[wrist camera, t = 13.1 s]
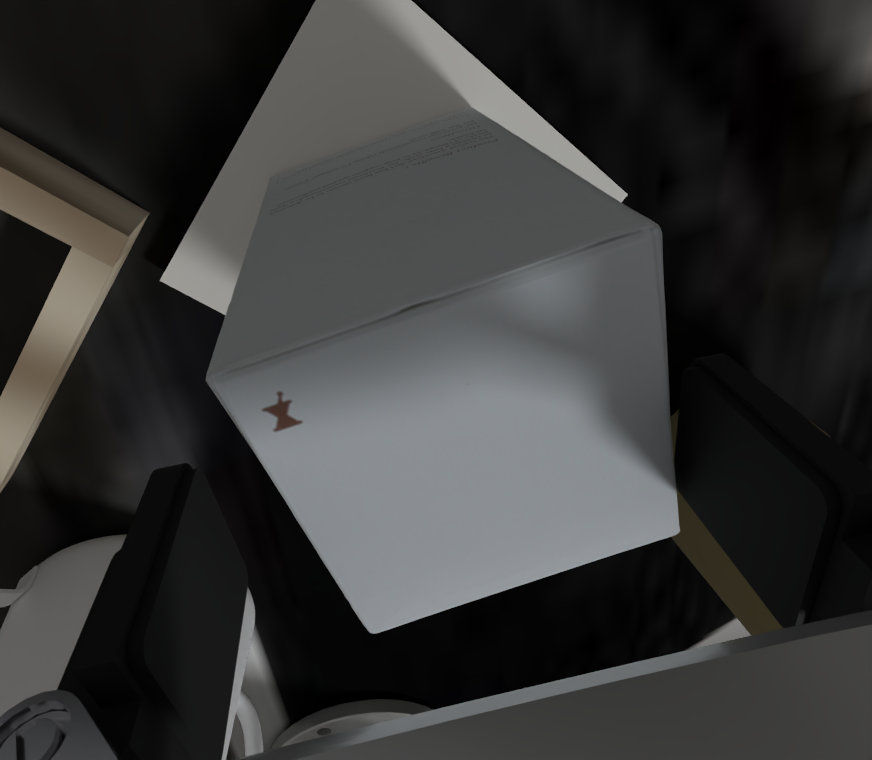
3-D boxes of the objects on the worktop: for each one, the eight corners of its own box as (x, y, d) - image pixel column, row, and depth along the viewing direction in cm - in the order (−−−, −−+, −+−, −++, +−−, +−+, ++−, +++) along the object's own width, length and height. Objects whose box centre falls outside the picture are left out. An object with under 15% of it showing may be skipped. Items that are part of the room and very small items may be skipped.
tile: (429, 413, 26) (431, 423, 26) (165, 272, 21) (159, 280, 20) (619, 189, 22) (627, 194, 21) (347, -55, 17) (347, -57, 16)
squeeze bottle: (804, 366, 28) (1349, 777, 13) (750, 492, 32) (1114, 910, 17) (646, 374, 27) (1047, 835, 12) (612, 503, 31) (874, 964, 16)
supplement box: (345, 357, 23) (358, 648, 13) (264, 172, 19) (184, 373, 9) (524, 298, 23) (688, 544, 12) (481, 99, 19) (670, 214, 8)
